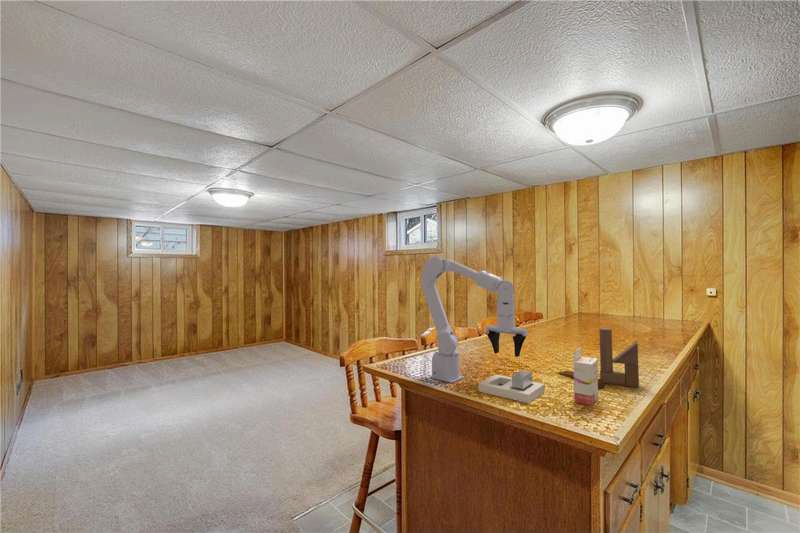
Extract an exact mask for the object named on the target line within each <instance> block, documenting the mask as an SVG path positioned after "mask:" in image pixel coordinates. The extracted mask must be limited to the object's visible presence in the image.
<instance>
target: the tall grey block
mask: <svg viewBox="0 0 800 533" xmlns="http://www.w3.org/2000/svg"><path fill="white" fill-rule="evenodd" d="M511 377H512V389H516V390H521V391H525V390H526V389H528V388H529V387H531V386H532V382H533V371H529V370H523V369H521V370H519V371H517V372H515V373H513V374H512V375H511Z"/></svg>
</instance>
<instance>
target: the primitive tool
mask: <svg viewBox="0 0 800 533" xmlns="http://www.w3.org/2000/svg"><path fill="white" fill-rule="evenodd" d="M556 374H558V375H561V376H563V377H566V378H570V379H572V380H574V371H571V370H563V371H558V372H556ZM605 385H606V383H605V382H604V381H603V379H601V378H600V377H599V378H598V390H603V389H604V388H605Z"/></svg>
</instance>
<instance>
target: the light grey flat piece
mask: <svg viewBox="0 0 800 533" xmlns="http://www.w3.org/2000/svg"><path fill="white" fill-rule="evenodd" d="M477 384H478V385H477V387H478V391H477V392H479V393H480V392H481V393H485V394H488V395H491V396H492V395H493V396H497V397H499V398H500V397H501V398H505V399H508V398H509V399H510V400H512V399H513V400H514V401H516V400H517V402H522V403H525V404H531V403H532V402H533V401H534V400H536V399H537V398H540V397H541V395H543V394H544V393H545V392H546V389H545V387H546V386H545V383H542V382H535V381H532V386H531V387H529V388H528V389H526V390H525V391H521V390H516V389H512V376H506V375H501V374H497V373H496V374H495V375H492V376H490V377H488V378H486V379H485V380H481V381H480V382H478V383H477ZM531 401H532V402H531Z"/></svg>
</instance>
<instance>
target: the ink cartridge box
mask: <svg viewBox="0 0 800 533" xmlns="http://www.w3.org/2000/svg"><path fill="white" fill-rule="evenodd" d="M598 360H599V359H598V358H596V357H587V356H582V346H580V347H579V348H577V349H575V350H574V352H573V366H572V367H573V372H574V379H573V395H574V396H573V398H574V399H573V400H574V403H576V404H581V405H587V406H590V407H591V406H593V405H594V404H595V403H596V401H597V400H598V399H599V389H598V379H599V374H598V373H599V371H598V370H599V367H598Z"/></svg>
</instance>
